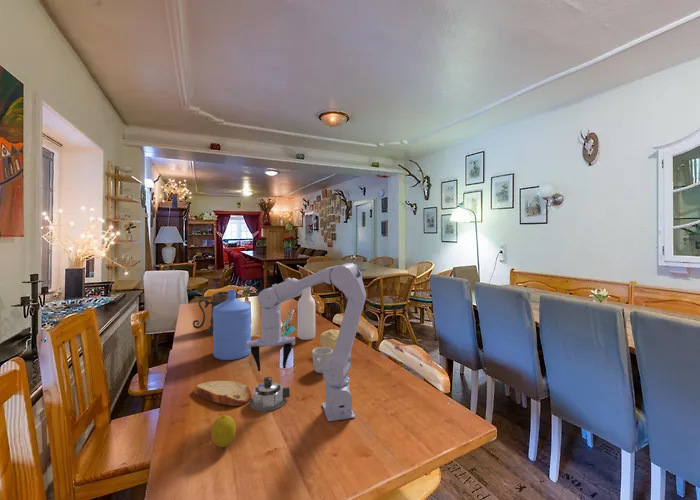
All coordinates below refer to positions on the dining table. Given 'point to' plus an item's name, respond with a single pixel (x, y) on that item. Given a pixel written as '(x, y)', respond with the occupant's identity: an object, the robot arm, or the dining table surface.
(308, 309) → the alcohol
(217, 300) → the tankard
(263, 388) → the silver rounded piece
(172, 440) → the dining table surface
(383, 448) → the dining table surface
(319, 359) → the cup
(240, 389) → the slice of bread
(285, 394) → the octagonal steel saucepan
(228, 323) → the water jug
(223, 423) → the lemon
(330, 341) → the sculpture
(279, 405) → the round metal disc
